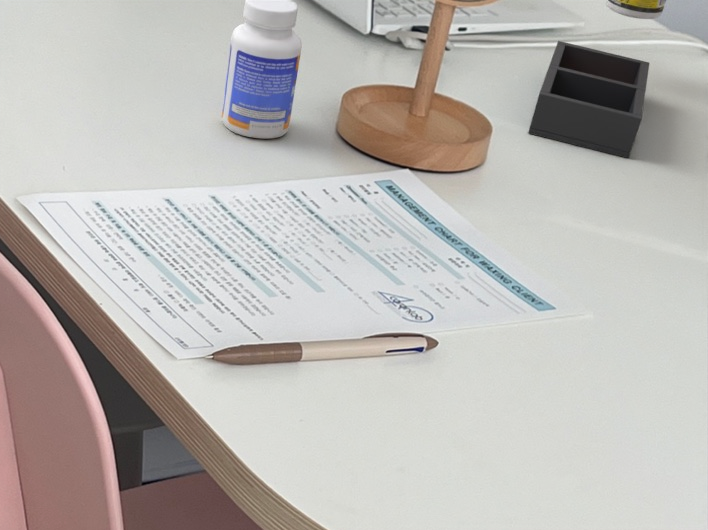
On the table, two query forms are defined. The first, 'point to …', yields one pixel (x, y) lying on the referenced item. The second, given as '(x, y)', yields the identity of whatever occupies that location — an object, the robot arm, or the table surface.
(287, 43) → the pill bottle
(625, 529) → the table surface
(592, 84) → the sorting tray
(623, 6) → the supplement bottle
